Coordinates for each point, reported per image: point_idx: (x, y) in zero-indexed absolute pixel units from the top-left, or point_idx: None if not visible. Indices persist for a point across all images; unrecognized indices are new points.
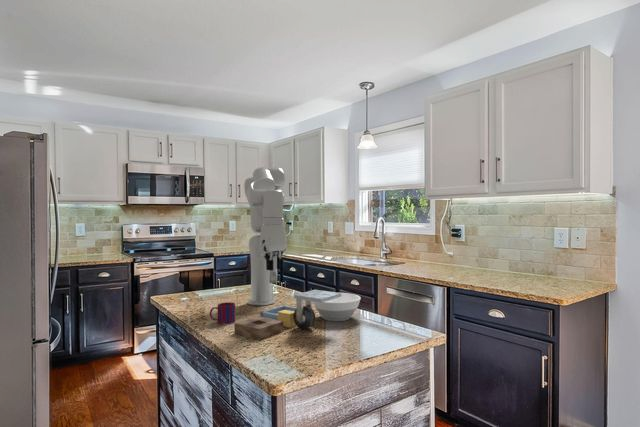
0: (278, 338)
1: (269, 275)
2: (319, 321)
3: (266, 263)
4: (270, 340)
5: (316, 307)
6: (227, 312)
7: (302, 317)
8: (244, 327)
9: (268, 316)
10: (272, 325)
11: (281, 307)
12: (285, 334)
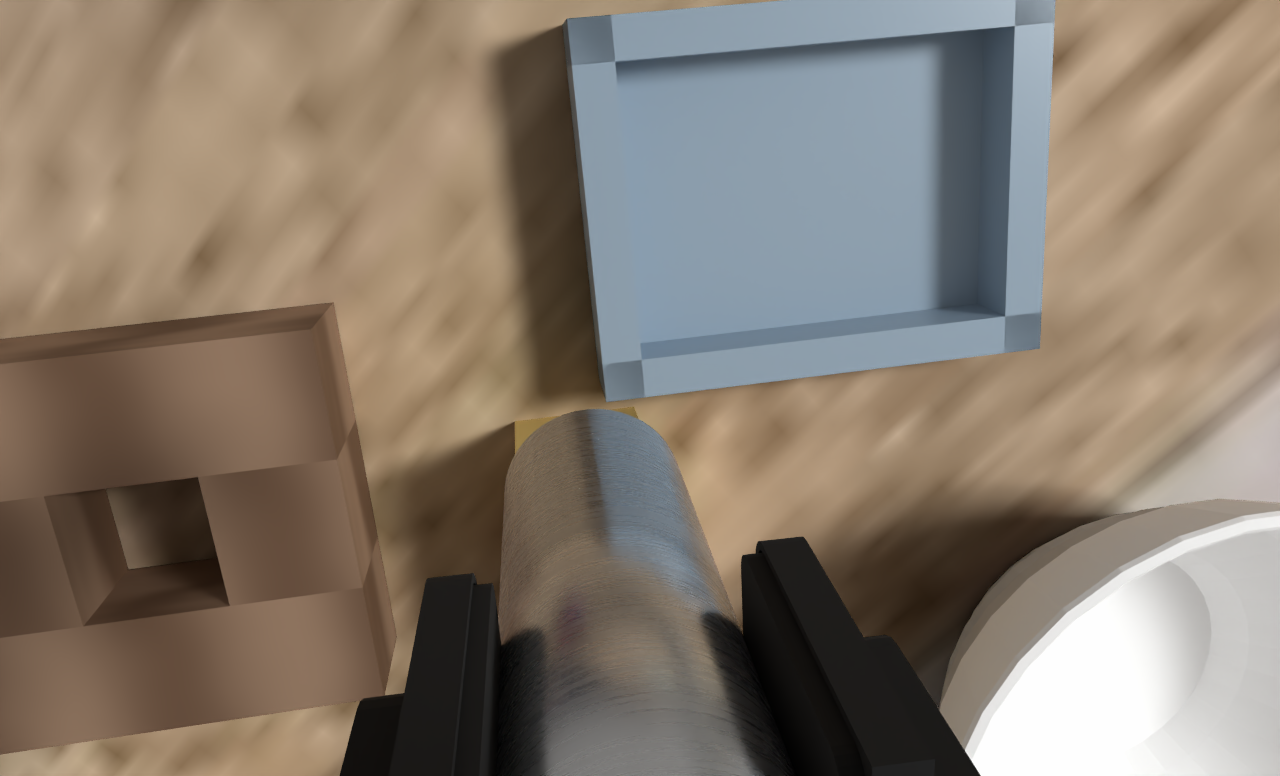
0: (215, 768)
1: (511, 536)
2: (888, 627)
3: (401, 712)
4: (119, 766)
5: (963, 659)
6: None
7: None
8: None
9: (581, 181)
10: (207, 717)
11: (957, 30)
12: (344, 722)
